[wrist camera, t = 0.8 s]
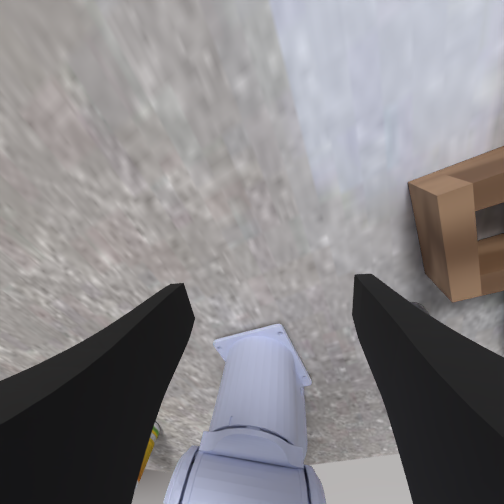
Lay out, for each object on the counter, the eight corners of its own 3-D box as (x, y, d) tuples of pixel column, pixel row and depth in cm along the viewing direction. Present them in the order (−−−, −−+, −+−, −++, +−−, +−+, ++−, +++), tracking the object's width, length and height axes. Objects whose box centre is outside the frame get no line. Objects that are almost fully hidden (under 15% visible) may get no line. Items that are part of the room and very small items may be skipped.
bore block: (549, 240, 17) (609, 266, 14) (425, 273, 20) (452, 302, 16) (555, 126, 14) (633, 126, 11) (407, 182, 16) (437, 195, 13)
